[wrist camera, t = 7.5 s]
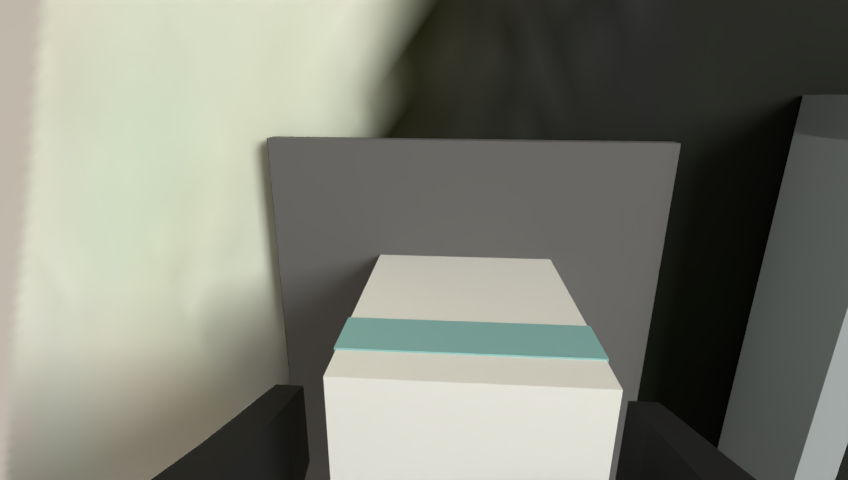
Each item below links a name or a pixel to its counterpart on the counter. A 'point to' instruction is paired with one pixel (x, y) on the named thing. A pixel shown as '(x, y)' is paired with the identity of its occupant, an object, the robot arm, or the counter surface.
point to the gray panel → (467, 234)
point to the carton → (469, 376)
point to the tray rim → (799, 315)
